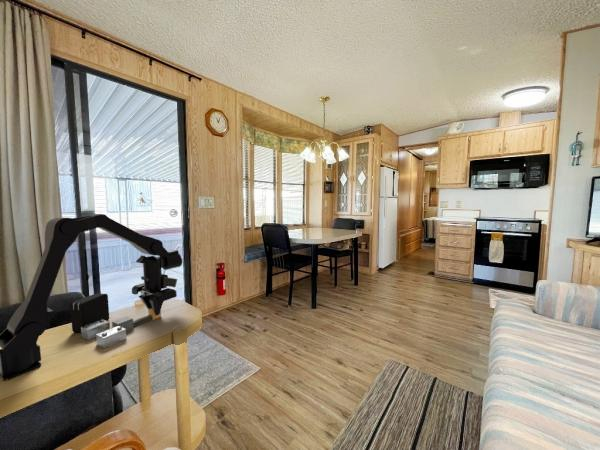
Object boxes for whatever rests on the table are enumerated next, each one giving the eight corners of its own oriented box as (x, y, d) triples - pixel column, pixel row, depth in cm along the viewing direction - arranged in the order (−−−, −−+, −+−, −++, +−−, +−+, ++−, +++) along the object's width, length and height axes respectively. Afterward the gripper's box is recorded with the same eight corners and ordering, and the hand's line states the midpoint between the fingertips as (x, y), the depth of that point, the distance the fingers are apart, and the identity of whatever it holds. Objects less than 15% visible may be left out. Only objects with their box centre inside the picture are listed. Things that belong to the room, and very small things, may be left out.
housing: (104, 348, 73) (103, 336, 73) (81, 336, 80) (80, 325, 80) (126, 338, 78) (125, 327, 78) (103, 328, 85) (102, 318, 85)
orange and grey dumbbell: (114, 336, 80) (113, 325, 80) (108, 333, 82) (107, 322, 82) (161, 316, 94) (161, 307, 94) (155, 314, 96) (155, 305, 95)
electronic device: (109, 319, 92) (107, 293, 91) (83, 333, 82) (81, 303, 81) (99, 319, 92) (97, 292, 92) (72, 333, 83) (69, 303, 82)
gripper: (188, 270, 95) (190, 310, 96) (158, 265, 104) (160, 302, 105) (159, 278, 85) (162, 322, 86) (129, 271, 94) (132, 312, 95)
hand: (155, 314), depth 93 cm, fingers closed on orange and grey dumbbell, 3 cm apart
